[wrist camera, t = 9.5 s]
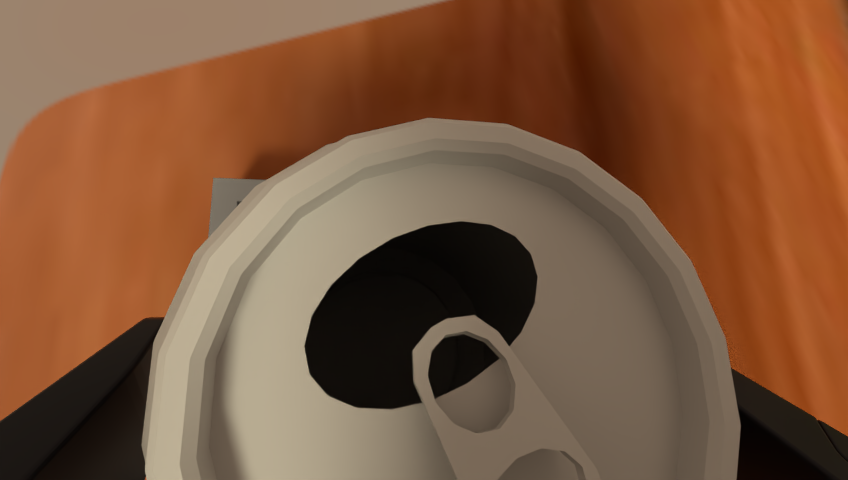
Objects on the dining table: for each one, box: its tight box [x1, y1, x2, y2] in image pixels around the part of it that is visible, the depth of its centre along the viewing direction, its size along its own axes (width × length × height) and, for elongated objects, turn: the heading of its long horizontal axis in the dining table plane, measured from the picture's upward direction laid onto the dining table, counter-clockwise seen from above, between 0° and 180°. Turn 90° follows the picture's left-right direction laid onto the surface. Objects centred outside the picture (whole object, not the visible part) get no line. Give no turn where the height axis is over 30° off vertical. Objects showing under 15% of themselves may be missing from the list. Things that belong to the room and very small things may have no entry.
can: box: [141, 118, 741, 480], centre depth 10 cm, size 8×8×12 cm
